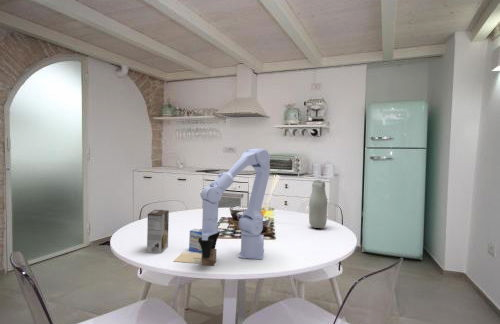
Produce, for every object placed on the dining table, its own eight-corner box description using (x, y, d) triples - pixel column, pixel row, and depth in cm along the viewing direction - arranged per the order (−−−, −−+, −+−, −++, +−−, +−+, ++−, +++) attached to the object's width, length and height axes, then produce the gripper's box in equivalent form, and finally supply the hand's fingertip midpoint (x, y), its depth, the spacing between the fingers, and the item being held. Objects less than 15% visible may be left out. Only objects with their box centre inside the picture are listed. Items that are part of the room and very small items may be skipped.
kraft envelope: (206, 254, 123) (206, 254, 123) (199, 263, 113) (199, 262, 113) (182, 253, 124) (182, 252, 124) (173, 261, 114) (173, 260, 114)
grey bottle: (327, 227, 177) (329, 180, 177) (323, 231, 168) (325, 181, 167) (311, 225, 182) (313, 179, 181) (306, 228, 173) (308, 180, 172)
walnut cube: (216, 261, 116) (216, 249, 116) (213, 266, 111) (213, 252, 111) (204, 261, 116) (204, 248, 116) (201, 265, 112) (201, 251, 112)
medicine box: (188, 250, 128) (189, 230, 127) (194, 247, 132) (194, 228, 132) (205, 253, 125) (205, 232, 125) (210, 250, 129) (210, 230, 129)
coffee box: (153, 246, 132) (154, 209, 132) (168, 246, 132) (169, 210, 132) (146, 252, 123) (147, 213, 123) (161, 253, 123) (162, 214, 123)
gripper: (204, 214, 121) (203, 247, 121) (194, 221, 107) (192, 260, 107) (222, 215, 120) (220, 249, 121) (213, 223, 106) (212, 261, 106)
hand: (208, 254), depth 114 cm, fingers open, 7 cm apart
